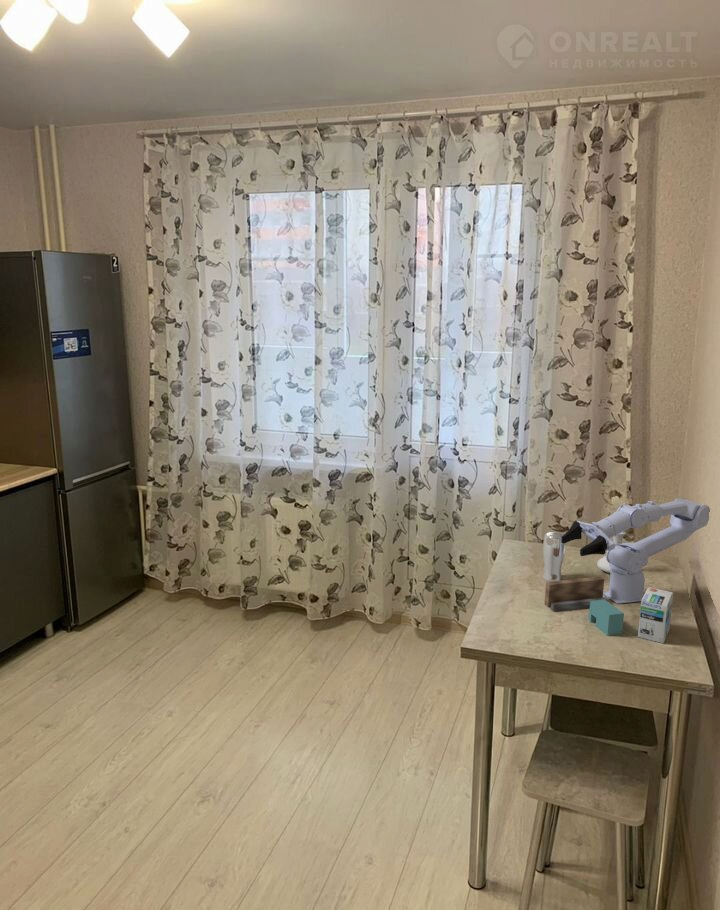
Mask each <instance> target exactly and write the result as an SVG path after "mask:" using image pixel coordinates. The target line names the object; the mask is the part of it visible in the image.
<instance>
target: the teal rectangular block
mask: <svg viewBox="0 0 720 910" xmlns="http://www.w3.org/2000/svg"><path fill="white" fill-rule="evenodd" d="M624 618H625V613H624V612H623V611H622V610H621V609H619V608H617V606H614V605H613V604H612V603H610V601H609V602H607V601H606V600H605V599H604V600H595V601H590V608H589V612H588V622H590V623H595V627H596V628H597V629H598V630H600V631H601V632H602V633H604V634H605V635H606V636H608V637H609V636H615V635H622V634H623V628H624Z"/></svg>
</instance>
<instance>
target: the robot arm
mask: <svg viewBox="0 0 720 910" xmlns="http://www.w3.org/2000/svg"><path fill="white" fill-rule="evenodd" d="M710 510H711V508H710V506H708V505H707V504H702V503H700V502H695V501H692V500H688V499H686V498H684V497H680V498H675V499H674V500H672V501H668V502H665V503H661V504H658V503H657V502H655V501H653V500H648V501H647V503H641V504H640V503H636V504H635V505H630V504H628V505H621V506H620V507H619V508H618V510H616V511H615V512H613V513H611V514H610V515H609V516H606V517H604V518H602V519H601V520H598V521H597V522H595V521H592V522H591V523H589V522H583V521H580V520H574V521H573V522H572V524H571V526H570V528H569V529H568V530H567V531H566V532H565V533H563V534H564V535H563V536H562V537H561V543H563V544H564V543H566V544H567V543H569V542H572V541H575V540H582V533H583V534H584V535H585V536H586V537H587V538H588V539H589V540H590V541H591V542H590V543H588V544H586V545H585V546H583V547H581V548H580V549H579V556H581V557H585V556H590V555H603V556H606V560H607V561H608V563H609V567H611V572H610V573H609V584H608V585H609V586H608V590H606V591H604V590H603V596H605V597H606V598H608V599H610V600H611V601H613V602H614V603H615V604H627V603H635V602H636V603H637V602H641V600H642V598H643V596H644V592H645V591H644V590H645V574H644V572H643V571H642V569H643V568H644V567H646V566H647V565H648V561H649V558H650V557H652V556H654V555H657V554H658V553H661V552H662V551H664V550H667V549H670V548H671V547H673V546H675V545H678V544H680V543H682V542H684V541H686V540H687V539H689V538H690V537H691V536H692V535H693V534H695V532H696V531H698V530H701V529H702V528H704V527H706V526H708V522H709V521H710V519H709V512H710ZM666 516H670V520H669V524H670V526H669V527H666V528H663V529H662V530H660V531H657V532H655V533H653V534H651V535H649V536H647V537H645V538H641V539H640V540H638V541H636V542H623V543H622V542H621V544H615V543H614V542H613V541H612V538H613V536H615V535H617V534H619V533H621V532H623V531H627V530H628V529H631V528H635V529H641V528H643V526H644V525H645V524H649V523H653V522H659V520H660V519H661V518H662V517H666Z"/></svg>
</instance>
